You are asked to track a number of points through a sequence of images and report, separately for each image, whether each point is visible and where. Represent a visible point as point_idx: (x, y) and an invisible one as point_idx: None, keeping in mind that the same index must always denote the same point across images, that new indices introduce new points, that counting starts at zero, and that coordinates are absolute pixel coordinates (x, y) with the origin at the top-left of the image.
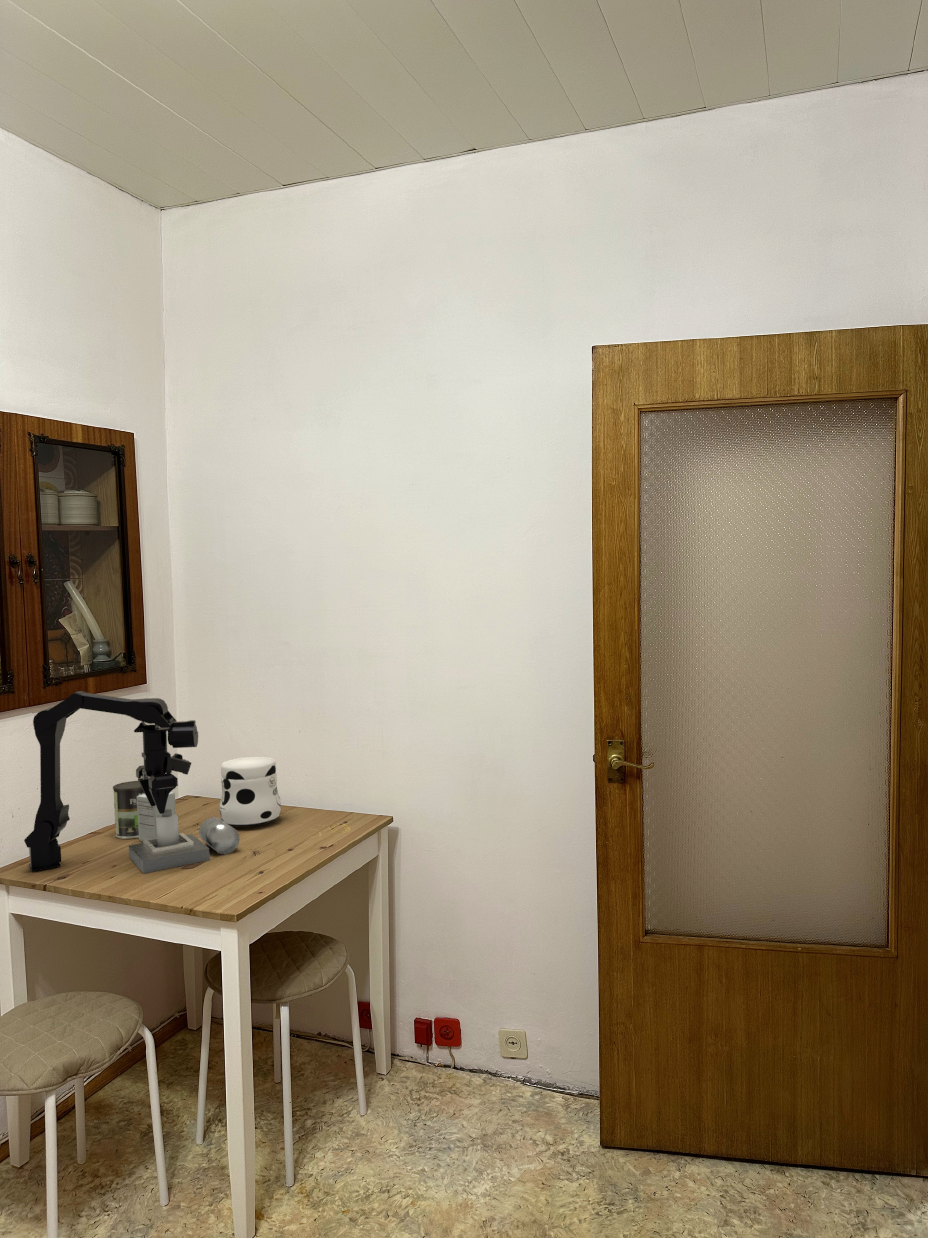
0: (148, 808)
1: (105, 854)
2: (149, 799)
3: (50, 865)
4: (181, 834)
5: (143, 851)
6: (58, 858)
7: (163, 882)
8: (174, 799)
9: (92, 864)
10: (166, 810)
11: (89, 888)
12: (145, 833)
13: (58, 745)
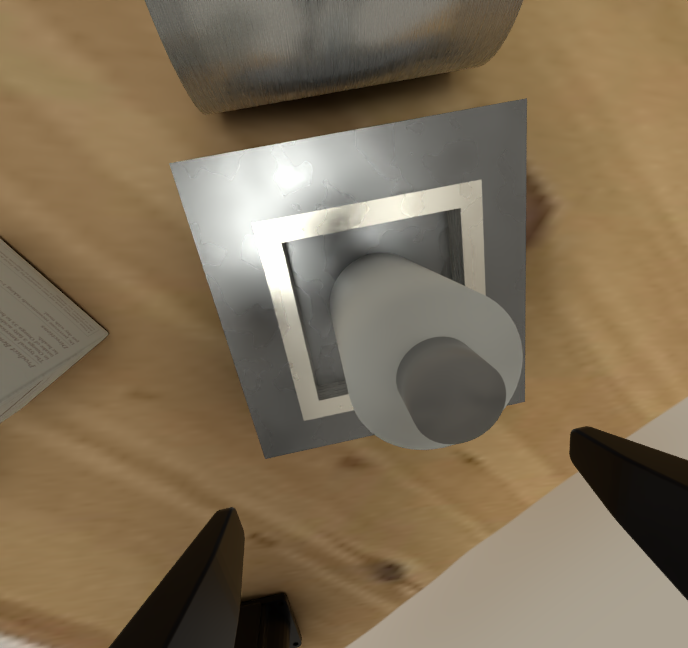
0: None
1: (191, 499)
2: (231, 630)
3: (284, 619)
4: (282, 234)
5: None
6: (263, 622)
7: (630, 318)
8: None
9: (298, 521)
10: (477, 404)
11: (531, 503)
12: (28, 399)
13: None
